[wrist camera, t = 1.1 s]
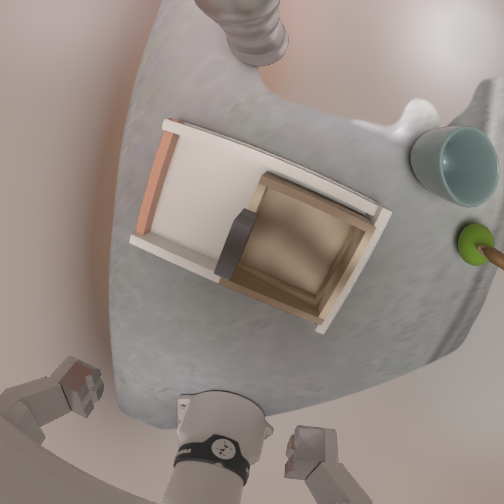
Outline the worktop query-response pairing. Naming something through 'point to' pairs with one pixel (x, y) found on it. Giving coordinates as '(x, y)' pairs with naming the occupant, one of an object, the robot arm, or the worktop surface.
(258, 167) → the white tray
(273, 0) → the plastic bottle
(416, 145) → the cup
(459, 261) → the worktop surface
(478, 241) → the snail figurine
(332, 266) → the drawer
